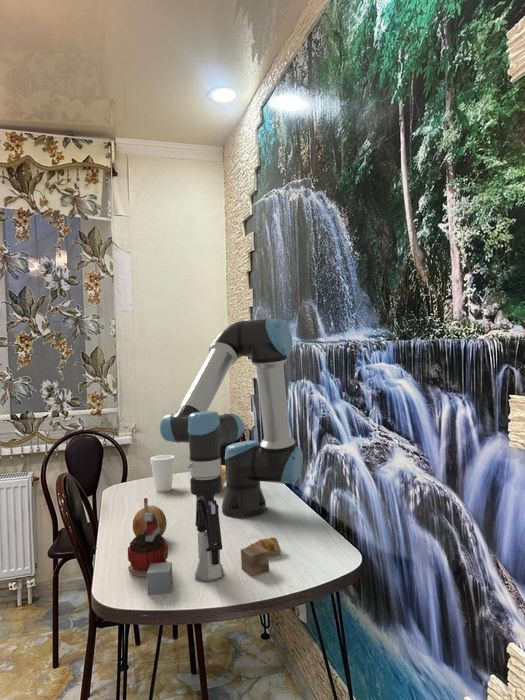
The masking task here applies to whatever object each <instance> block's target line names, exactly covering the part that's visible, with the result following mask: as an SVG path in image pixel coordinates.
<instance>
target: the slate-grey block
mask: <svg viewBox="0 0 525 700" xmlns="http://www.w3.org/2000/svg"><path fill="white" fill-rule="evenodd" d="M173 583H174V581H173V562H172V561H167V562H166V563H152V564H150V566H149V569H148V571H147V576H146V584H147V587H146V591H147V596H154V595H167V594H168V595H169V594H171V592H172V587H173Z"/></svg>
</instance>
